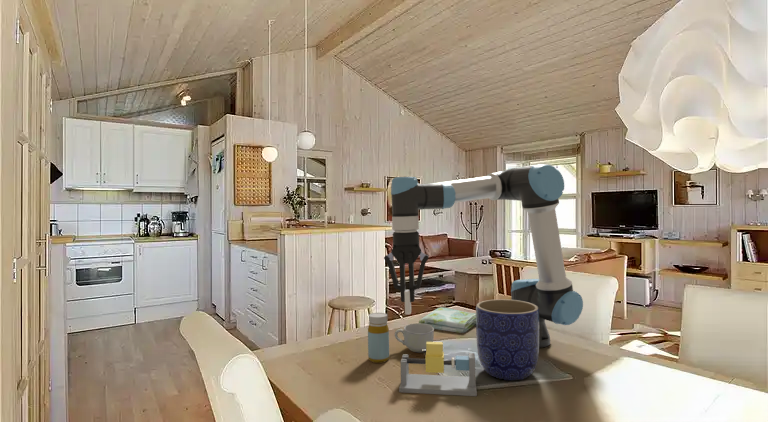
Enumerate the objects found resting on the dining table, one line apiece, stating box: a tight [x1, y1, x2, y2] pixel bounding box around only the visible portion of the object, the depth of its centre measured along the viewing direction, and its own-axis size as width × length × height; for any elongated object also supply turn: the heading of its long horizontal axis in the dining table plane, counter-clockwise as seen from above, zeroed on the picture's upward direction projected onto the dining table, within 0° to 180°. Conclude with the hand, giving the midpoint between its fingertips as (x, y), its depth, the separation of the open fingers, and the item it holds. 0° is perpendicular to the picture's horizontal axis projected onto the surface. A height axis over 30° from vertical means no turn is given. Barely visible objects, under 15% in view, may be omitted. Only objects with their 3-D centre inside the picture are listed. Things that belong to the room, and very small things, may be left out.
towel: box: [418, 307, 476, 334], centre depth 185 cm, size 18×21×5 cm
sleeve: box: [424, 341, 445, 374], centre depth 124 cm, size 5×4×8 cm
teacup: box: [394, 322, 435, 353], centre depth 155 cm, size 14×11×8 cm
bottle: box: [367, 312, 390, 364], centre depth 146 cm, size 7×7×15 cm
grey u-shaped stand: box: [398, 352, 478, 397], centre depth 124 cm, size 21×10×9 cm, turn 81°
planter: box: [475, 298, 540, 381], centre depth 132 cm, size 18×18×21 cm
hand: (408, 313), depth 125 cm, fingers closed
